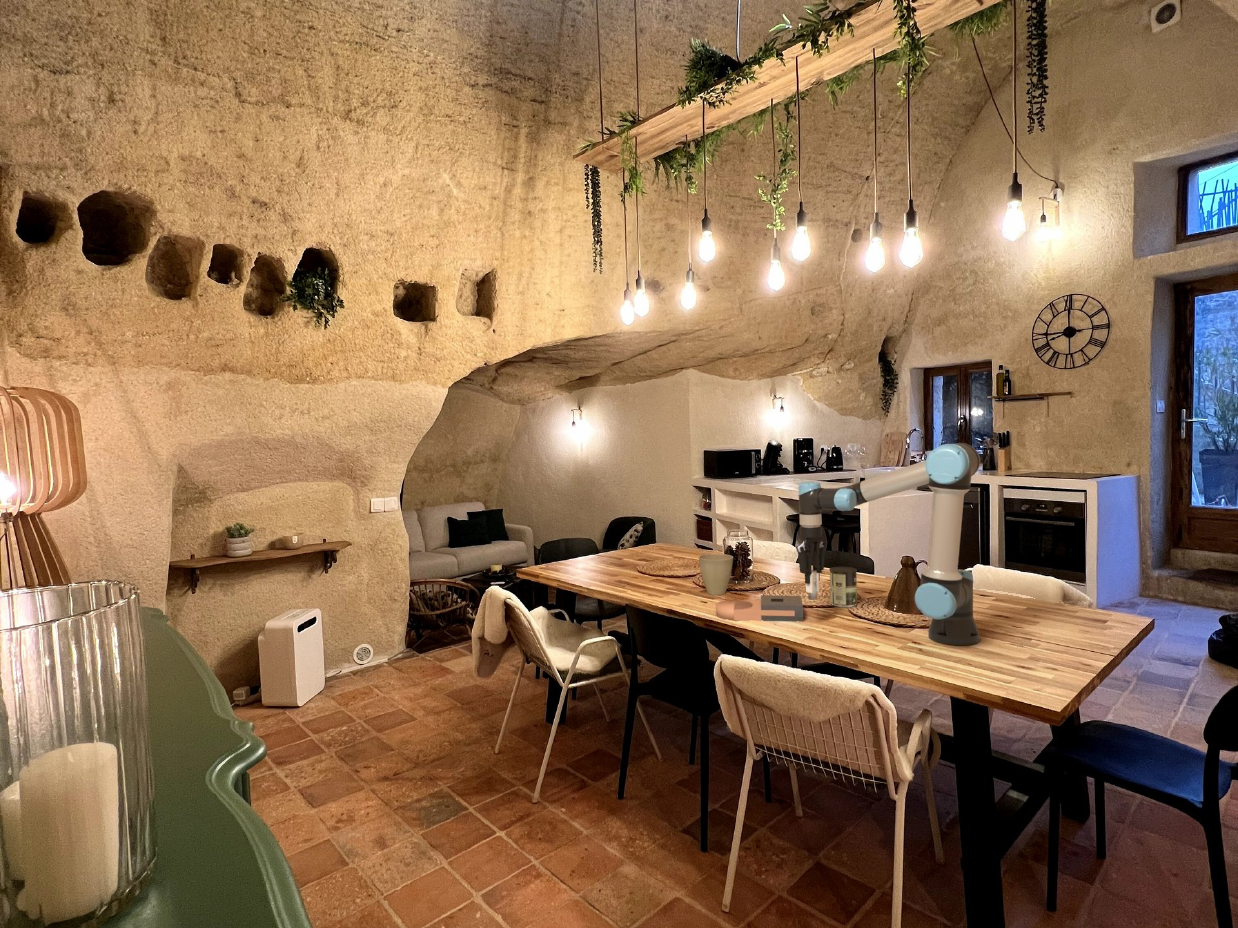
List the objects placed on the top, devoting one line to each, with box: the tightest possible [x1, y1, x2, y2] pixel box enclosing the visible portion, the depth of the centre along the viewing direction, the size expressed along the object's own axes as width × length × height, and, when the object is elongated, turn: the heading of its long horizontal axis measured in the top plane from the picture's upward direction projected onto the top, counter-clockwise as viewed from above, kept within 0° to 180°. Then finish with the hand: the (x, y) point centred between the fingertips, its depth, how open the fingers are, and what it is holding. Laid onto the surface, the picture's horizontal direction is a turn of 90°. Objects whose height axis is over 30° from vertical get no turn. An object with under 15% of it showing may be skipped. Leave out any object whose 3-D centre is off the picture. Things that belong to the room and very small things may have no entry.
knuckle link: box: [715, 599, 795, 622], centre depth 263 cm, size 14×29×4 cm, turn 78°
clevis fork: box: [760, 594, 804, 623], centre depth 261 cm, size 14×15×6 cm
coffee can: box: [829, 566, 858, 608], centre depth 274 cm, size 10×10×14 cm
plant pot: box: [698, 553, 734, 596], centre depth 299 cm, size 15×15×16 cm
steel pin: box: [807, 569, 818, 601], centre depth 245 cm, size 3×3×10 cm
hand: (812, 591), depth 245 cm, fingers closed on steel pin, 2 cm apart
